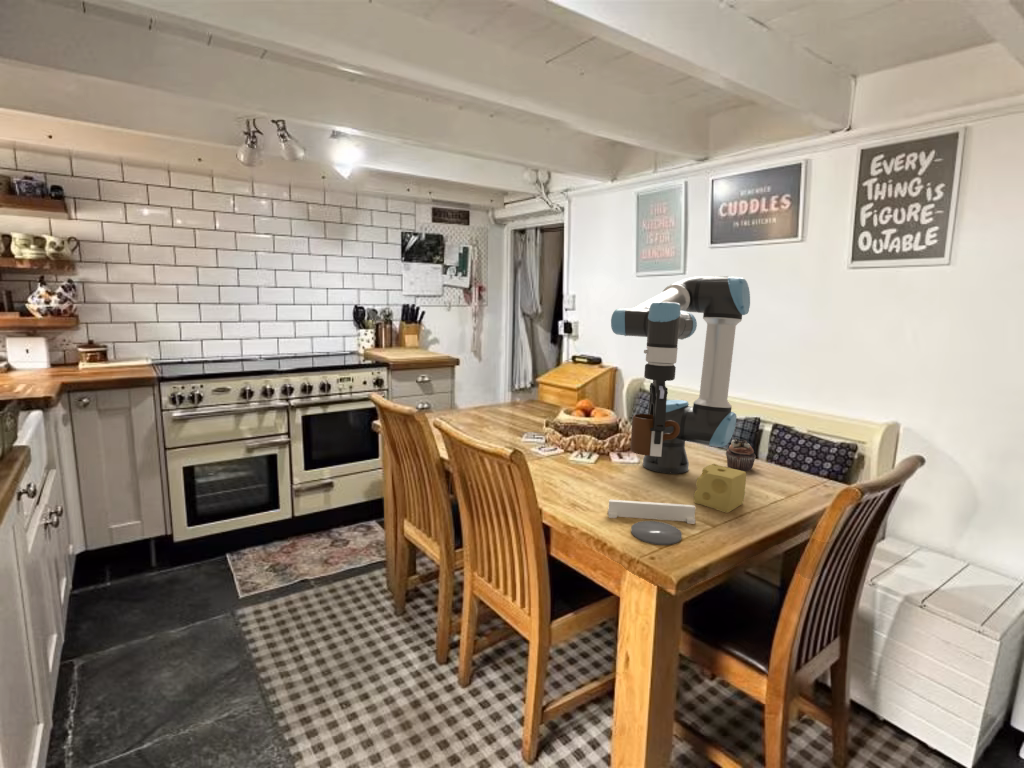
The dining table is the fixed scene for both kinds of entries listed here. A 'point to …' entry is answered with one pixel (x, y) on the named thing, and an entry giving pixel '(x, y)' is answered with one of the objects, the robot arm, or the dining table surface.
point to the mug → (647, 433)
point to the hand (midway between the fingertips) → (653, 451)
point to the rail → (651, 510)
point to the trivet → (656, 532)
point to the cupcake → (740, 455)
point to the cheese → (720, 488)
